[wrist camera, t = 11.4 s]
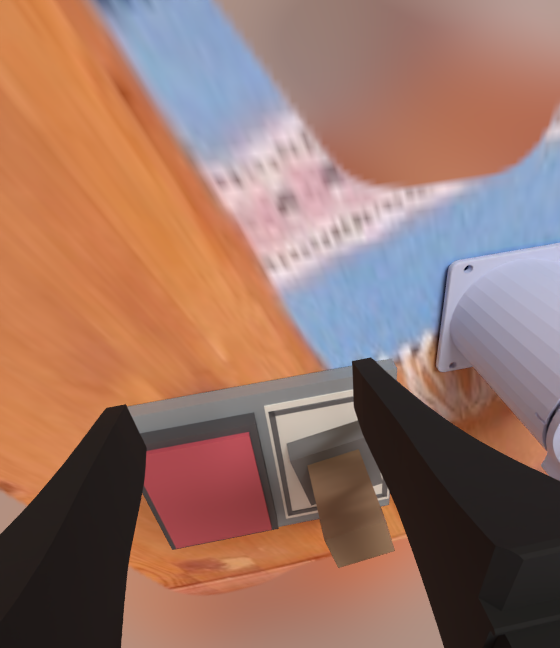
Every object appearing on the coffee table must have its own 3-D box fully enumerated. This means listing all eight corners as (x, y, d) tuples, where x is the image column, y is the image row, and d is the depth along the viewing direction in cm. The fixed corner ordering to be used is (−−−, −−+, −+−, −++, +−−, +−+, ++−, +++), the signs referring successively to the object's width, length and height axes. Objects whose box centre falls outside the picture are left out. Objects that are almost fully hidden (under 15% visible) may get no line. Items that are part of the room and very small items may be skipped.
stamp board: (391, 358, 26) (405, 381, 24) (384, 494, 34) (394, 519, 32) (114, 408, 25) (106, 437, 23) (177, 535, 33) (174, 564, 31)
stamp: (362, 418, 27) (400, 506, 21) (376, 465, 30) (411, 553, 24) (286, 443, 27) (303, 536, 22) (307, 487, 30) (327, 579, 25)
